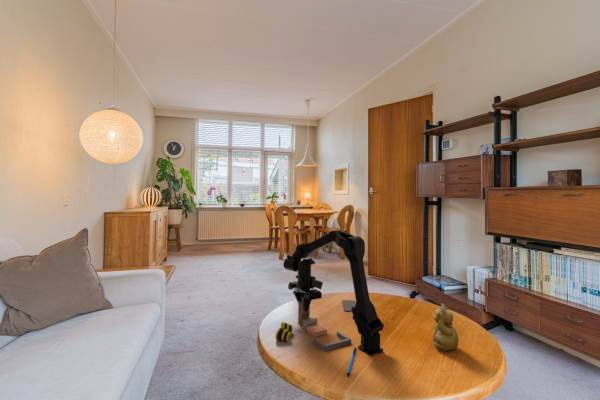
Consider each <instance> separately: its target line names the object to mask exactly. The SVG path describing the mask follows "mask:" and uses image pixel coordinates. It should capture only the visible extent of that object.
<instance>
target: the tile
mask: <svg viewBox="0 0 600 400" xmlns="http://www.w3.org/2000/svg"><path fill="white" fill-rule="evenodd" d="M305 331H306V332H307V333H309V334H310V335H311V336H312V337H313V338H316V337H319V336H323V335H327V334H328V329H327V328H325V327H324V326H322V325H321V324H320V323H317V325H313V326H308V327H306V329H305Z"/></svg>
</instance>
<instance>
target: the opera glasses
mask: <svg viewBox="0 0 600 400" xmlns="http://www.w3.org/2000/svg"><path fill="white" fill-rule="evenodd" d="M293 330H294V324H290V323H288V322H287V323H286V322H285V320H284V321H282V322H281V323H280V327H279V328H278V329H277V330H276V332H275V341H276V340H277V341H279V340H280V341H282V342H283V341H285V342H287V343H288V342H289V341H290V340H291V336H292V335H293Z"/></svg>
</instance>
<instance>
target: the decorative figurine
mask: <svg viewBox="0 0 600 400" xmlns="http://www.w3.org/2000/svg"><path fill="white" fill-rule="evenodd" d="M440 305H441V306H439V308H438V309H436V310H435V312H433V319H434V321H435V322H436V323H437V324H436V325H434V331H433V345H434V347H435V349H436V350H437V349H438V350H441V351H443V352H446V351H448V352H447V353H450V351H451V350H453V349H457V348H458V346H459V343H460V341H459V340H460V339H459V334H458V332H457V330H456V328H454V327H453V325H454V324H453V322H454V315H453V313H452V312H451V311H450V310H449V309H448V307H447V306H446V304H444V303H440Z"/></svg>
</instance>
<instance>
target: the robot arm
mask: <svg viewBox="0 0 600 400" xmlns="http://www.w3.org/2000/svg"><path fill="white" fill-rule="evenodd" d="M334 243H335V244H336V245H337V246H338V247H340V248H342V251H343V253H344V256H345V258H346V259H347V261H348V262H349V267H350V272H351V273H350V274H351V280H352V284H353V289H354V290H353V291H354V296H355V302H356V305H355V306H354V307H352V308H351V310H352V312H351V313H352V320H354V323H355V326H356V329H357V332H358V334H359V335H360V345H357V348H358V349H360V350H361V351H362V352H364V353H366V354H367V355H369V356H372V355H375V354H378V353H382V352H384V349H383V348H382V347H381V333H380V332H381V331H383V329H384V328H385V326H384V323H383V321H382V320H381V319H380V318H379V316H378V314H377V311H376V310H377V309H376V306H375V305H374V304H373V302H372V301H371V299H370V294H369V289H368V282H367V276H366V271H365V270H366V269H365V265H364V257H365V253H366V243H365V240H364V238H362V237H361V236H357V235H356V236H355V235H353V234H351V233H347V232H344V231H343V230H341V229H335V230H331V231H330V232H328V233H326V234H324V235H322V236H320V237H319V238H316V239H315V240H313V241H310V242H305V243H303V244H298V245H297V246H296V247H295V250H294V252H293V254H287V255H286V258H285V259H284V261H283V268H284V269H285V270H287V271H290V272H297V275H295V279H297V281H290V282H289V283H288V285H287V287H288V288H287V289H289V290H290V291H292V290H293V291H292V294H293V295H294V297H295V300H296V301H297V303H298V301H302V302H303V306H304V310H305V312H307V311H308V309H309V306H311V302H312V301H315V300H319V299H322V298H323V297H322V295H323V292H321V291H320V290H322V288H323V284H324V282H323V281H321V280H318V279H316V278H317V277H316V276H313V275H312V265H315V264H316V261H314V260H313V258H312V257H313V256H314V255H315V254H317V252H318V251H319V250H321V249H324V248H325V247H327V246H329V245H331V244H334ZM318 289H319V290H318Z"/></svg>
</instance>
